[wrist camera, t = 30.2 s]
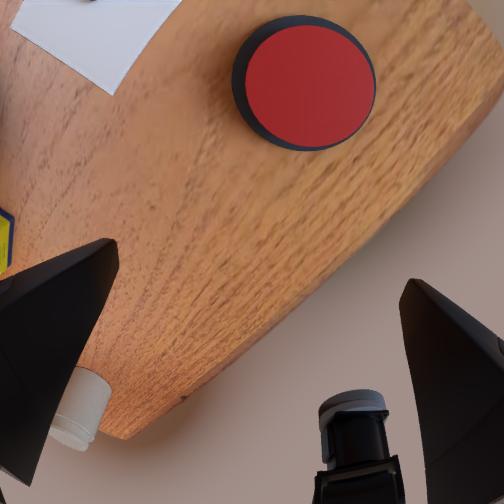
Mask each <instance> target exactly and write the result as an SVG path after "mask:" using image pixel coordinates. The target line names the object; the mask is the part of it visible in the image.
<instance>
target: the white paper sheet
mask: <svg viewBox="0 0 504 504" xmlns="http://www.w3.org/2000/svg"><path fill="white" fill-rule="evenodd" d="M181 1H182V0H24V2H23V4H22V5H21V7H20V9H19V11H18V13H17V14H16V16H15V18H14V20H13V22H12V24H11V26H10V28H11V29H13V30H14V31H16V32H18V33H19V34H21V35H22V36H24V37H25V38H27V39H29V40H30V41H32V42H33V43H35V44H36V45H38V46H39V47H41V48H42V49H44V50H46V51H47V52H49V53H50V54H52V55H53V56H55V57H56V58H58V59H59V60H61V61H62V62H64V63H65V64H67V65H68V66H70V67H71V68H73V69H74V70H76V71H77V72H78V73H80V74H81V75H83V76H84V77H86V78H87V79H89V80H90V81H92V82H93V83H94V84H96V85H97V86H99V87H100V88H102V89H103V90H105V91H106V92H107V93H109V94H110V95H112V96H113V94H114V92H115V91H116V89H117V88H118V86H119V84H120V83H121V81H122V80H123V78H124V77H125V75H126V74H127V72H128V71H129V69H130V68H131V66H132V65H133V63H134V62H135V60H136V59H137V57H138V56H139V55H140V53H141V52H142V50H143V49H144V48H145V46H146V45H147V44H148V42H149V41H150V39H151V38H152V37H153V36H154V34H155V33H156V32H157V30H158V29H159V28H160V26H161V25H162V24H163V23H164V21H165V20H166V19H167V18H168V17H169V15H170V14H171V13H172V12H173V10H174V9H175V8H176V7H177V6H178V5H179V3H180V2H181Z"/></svg>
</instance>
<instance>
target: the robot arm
mask: <svg viewBox="0 0 504 504" xmlns="http://www.w3.org/2000/svg"><path fill="white" fill-rule="evenodd" d="M118 270H119V256H118V248H117V242H116V241H115V240H114V239H109V238H102V239H99V240H97V241H94V242H91V243H89V244H86V245H84V246H81V247H79V248H76V249H74V250H71V251H69V252H66V253H64V254H61V255H59V256H57V257H54V258H52V259H49V260H47V261H45V262H42V263H40V264H37V265H35V266H33V267H31V268H28V269H26V270H24V271H21V272H19V273H17V274H15V276H14V275H12V276H10V277H8V278H6V279H3V280H1V281H0V470H2V471H3V472H5V473H6V474H8V475H10V476H11V477H13V478H15V479H16V480H18V481H20V482H21V483H23V484H25V485H27V486H29V487H30V485H31V483H32V479H33V476H34V473H35V469H36V467H37V464H38V461H39V458H40V455H41V452H42V449H43V446H44V443H45V441H46V438H47V435H48V432H49V430H50V427H51V424H52V421H53V419H54V416H55V414H56V411H57V409H58V406H59V404H60V401H61V399H62V396H63V394H64V391H65V389H66V387H67V384H68V382H69V380H70V377H71V375H72V373H73V371H74V368H75V366H76V364H77V362H78V360H79V357H80V355H81V353H82V351H83V349H84V347H85V345H86V342H87V340H88V338H89V336H90V334H91V332H92V330H93V328H94V326H95V324H96V322H97V320H98V318H99V316H100V314H101V312H102V310H103V308H104V305H105V303H106V300H107V298H108V295H109V292H110V290H111V287H112V285H113V282H114V280H115V277H116V275H117V272H118ZM399 310H400V317H401V324H402V331H403V339H404V346H405V351H406V356H407V360H408V365H409V369H410V374H411V379H412V384H413V389H414V394H415V400H416V406H417V412H418V417H419V424H420V431H421V438H422V446H423V454H424V462H425V469H426V470H425V474H426V486H427V501H428V504H504V341H503V340H502V339H500V338H499V337H497V335H496V334H494V333H493V332H492V331H490V330H489V329H488V328H487V327H485V326H484V325H483V324H481V323H480V322H479V321H478V320H476V319H475V318H474V317H472V316H471V315H470V314H468V313H467V312H466V311H464V310H463V309H462V308H460V307H459V306H458V305H456V304H455V303H454V302H452V301H451V300H450V299H448V298H447V297H445V296H444V295H443V294H441V293H440V292H439V291H437V290H436V289H434V288H433V287H432V286H430V285H429V284H427V283H426V282H424V281H423V280H421V279H414V278H411V279H409V280H408V282H407V284H406V286H405V289H404V291H403V293H402V296H401V298H400V301H399ZM388 415H389V411H388V410H373V411H337V412H335V413H334V415H333V416H332V418H331V420H330V421H329V423H328V424H327V425H326V426H325V428H324V429H323V431H322V433H321V445H322V461H323V463H325V464H327V471H318V472H317V476H315V491H314V496H313V501H312V504H405V492H404V485H403V479H402V474H401V469H400V464H399V459H398V455H393V456H392V457H390V454H389V448H388V442H387V436H386V431H385V426H384V420H385V419H386V418H387V417H388ZM0 504H6V502H5V499H4V497H3V494H2V491H1V488H0Z"/></svg>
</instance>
